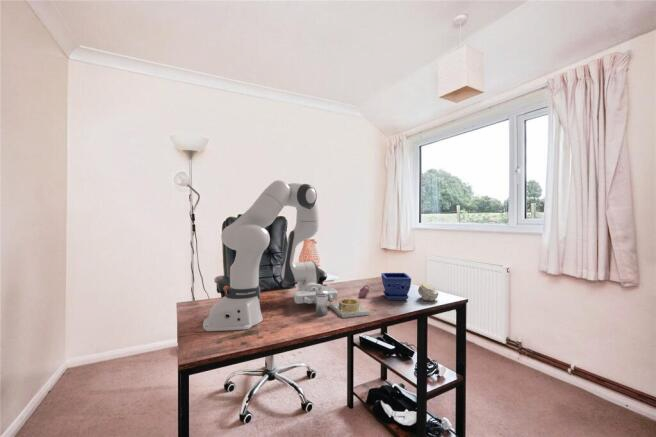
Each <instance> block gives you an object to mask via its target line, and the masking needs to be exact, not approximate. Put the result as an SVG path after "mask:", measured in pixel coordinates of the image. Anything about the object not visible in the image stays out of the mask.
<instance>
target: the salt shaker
mask: <svg viewBox="0 0 656 437" xmlns="http://www.w3.org/2000/svg"><path fill="white" fill-rule="evenodd" d="M328 302H329V301H328V291H327V290H323V289H321V290H316V302H315V315H316V316H317V317H326V316H327V315H328V305H329V304H328Z"/></svg>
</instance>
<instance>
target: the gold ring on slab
mask: <svg viewBox="0 0 656 437" xmlns="http://www.w3.org/2000/svg"><path fill="white" fill-rule="evenodd" d="M329 308H330V309H331V310H333V311H334V312H335V313H336V314H337V315H338V316H339V317H340V318H342V319H345V318H354V317H362V316H369V315H371V311H370V310H369V309H367V307H365V306H363V305H362V304H361V303H360V300H358V299H353V298H342V299H339V301H338V302H335V303H329Z"/></svg>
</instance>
